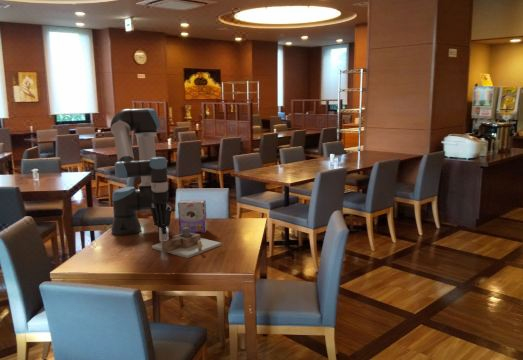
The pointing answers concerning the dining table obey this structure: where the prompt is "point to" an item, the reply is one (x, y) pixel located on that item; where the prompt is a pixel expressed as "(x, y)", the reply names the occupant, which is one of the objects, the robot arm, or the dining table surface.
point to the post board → (192, 250)
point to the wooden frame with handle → (180, 242)
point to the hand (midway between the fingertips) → (162, 240)
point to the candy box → (192, 215)
